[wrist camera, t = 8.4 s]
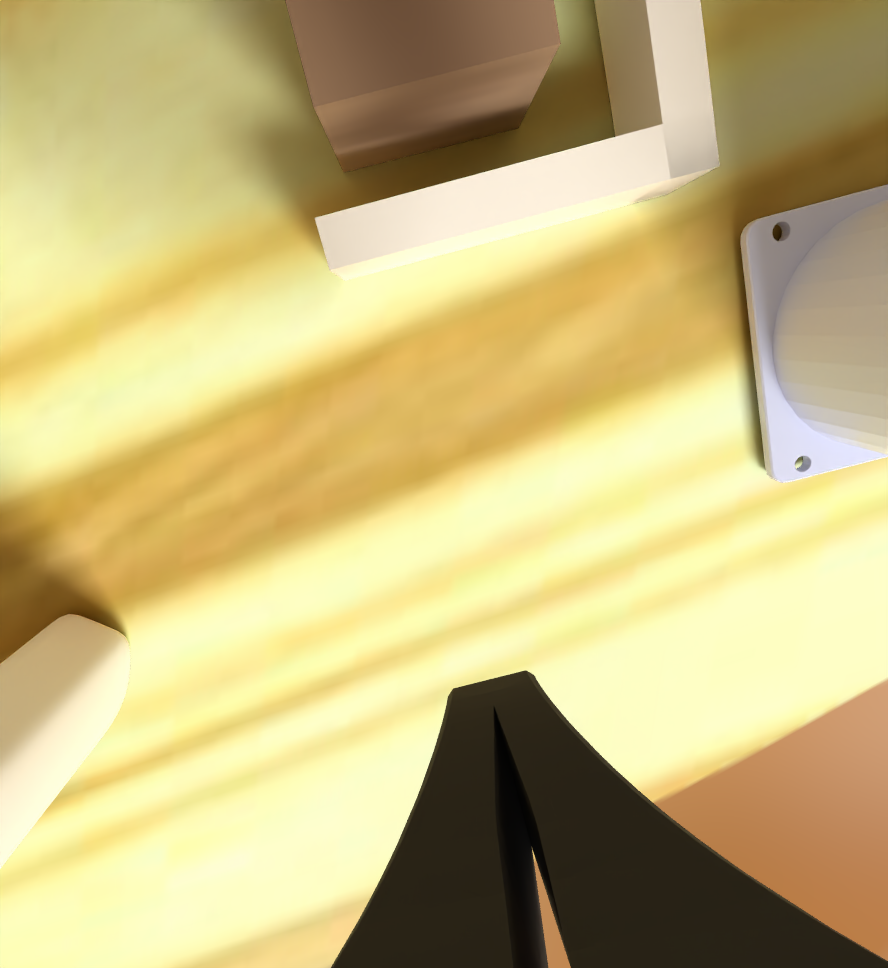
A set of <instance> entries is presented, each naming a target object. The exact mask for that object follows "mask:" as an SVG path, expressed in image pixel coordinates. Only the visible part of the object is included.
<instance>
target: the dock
mask: <svg viewBox="0 0 888 968" xmlns="http://www.w3.org/2000/svg"><path fill="white" fill-rule="evenodd" d="M594 2H595V9H596V15H597V22H598V28H599V34H600V41H601V47H602V53H603V60H604V66H605V73H606V79H607V85H608V92H609V98H610V104H611V111H612V117H613V123H614V130H615V136H616V137H613V138H609V139H605V140H601V141H598V142H594V143H590V144H587V145H583V146H579V147H575V148H572V149H568V150H564V151H561V152H557V153H553V154H549V155H546V156H542V157H538V158H535V159H531V160H527V161H524V162H520V163H516V164H512V165H509V166H505V167H501V168H498V169H494V170H490V171H486V172H483V173H479V174H475V175H472V176H468V177H464V178H460V179H457V180H453V181H449V182H446V183H442V184H438V185H434V186H431V187H427V188H423V189H420V190H416V191H412V192H409V193H405V194H401V195H397V196H394V197H390V198H386V199H383V200H379V201H375V202H371V203H368V204H364V205H360V206H357V207H353V208H349V209H345V210H342V211H338V212H334V213H331V214H327V215H323V216H320V217H316V218H315V221H316V225H317V228H318V232H319V235H320V238H321V242H322V245H323V249H324V252H325V256H326V259H327V263H328V266H329V270H330V271H331V272H333V273H334V274H336V275H337V276H339V277H340V278H342V279H343V280H344V281H345V280H349V279H353V278H357V277H360V276H364V275H368V274H372V273H375V272H379V271H383V270H387V269H390V268H394V267H398V266H402V265H405V264H409V263H413V262H417V261H420V260H424V259H428V258H432V257H435V256H439V255H443V254H447V253H450V252H454V251H458V250H462V249H465V248H469V247H473V246H477V245H480V244H484V243H488V242H492V241H495V240H499V239H503V238H507V237H510V236H514V235H518V234H522V233H525V232H529V231H533V230H537V229H540V228H544V227H548V226H552V225H555V224H559V223H563V222H566V221H570V220H574V219H578V218H581V217H585V216H589V215H593V214H596V213H600V212H604V211H608V210H611V209H615V208H619V207H623V206H626V205H630V204H634V203H638V202H641V201H645V200H649V199H653V198H656V197H660V196H664V195H667V194H669V193H671V192H673V191H675V190H677V189H678V188H680V187H682V186H684V185H686V184H688V183H689V182H691V181H693V180H695V179H697V178H699V177H700V176H702V175H704V174H706V173H708V172H710V171H711V170H713V169H715V168H717V167H719V166H720V164H719V156H718V147H717V138H716V130H715V121H714V112H713V104H712V95H711V87H710V78H709V69H708V61H707V52H706V43H705V35H704V26H703V18H702V9H701V0H594Z"/></svg>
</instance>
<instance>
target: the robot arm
mask: <svg viewBox="0 0 888 968" xmlns="http://www.w3.org/2000/svg"><path fill="white" fill-rule="evenodd" d="M776 224H777V225H779V226H780V227H781V229H782V236H781V238H780V239H779V241H777V240H775V239H774V238H773V235H772V231H773V228H774V226H775V225H776ZM740 244H741V253H742V262H743V271H744V280H745V289H746V298H747V307H748V316H749V325H750V334H751V343H752V352H753V361H754V370H755V379H756V388H757V397H758V406H759V415H760V424H761V433H762V442H763V451H764V460H765V469H766V472H767V475H768V476H769V477H770V478H771V479H774V480H776V481H779V482H782V483H783V482H791V481H795V480H799V479H803V478H806V477H810V476H814V475H818V474H822V473H826V472H830V471H834V470H838V469H842V468H846V467H850V466H853V465H857V464H861V463H865V462H869V461H873V460H877V459H881V458H885V457H888V184H887V185H883V186H880V187H876V188H872V189H868V190H865V191H861V192H857V193H853V194H849V195H846V196H842V197H838V198H834V199H831V200H827V201H823V202H819V203H816V204H812V205H808V206H804V207H800V208H797V209H793V210H789V211H785V212H782V213H778V214H774V215H770V216H766V217H763V218H759V219H756V220H754V221H752V222H750V223H748V225H747V226H746V227H745V228H744V229H743V232H742V234H741V241H740ZM801 456H802V457H803V463H802V465H801V466H800V467H799V468H797V469H796V468H795V461H796V460H797V459H798V458H799V457H801ZM532 849H533V852H534V855H535V858H536V861H537V864H538V867H539V870H540V873H541V877H542V879H543V883H544V886H545V889H546V892H547V895H548V898H549V901H550V904H551V907H552V911H553V914H554V917H555V920H556V923H557V926H558V929H559V932H560V935H561V938H562V941H563V944H564V948H565V951H566V954H567V956H568V960H569V963H570V966H571V968H888V961H886V960H885V959H883V958H881V957H880V956H878V955H876V954H874V953H873V952H871V951H869V950H867V949H866V948H864V947H862V946H861V945H859V944H857V943H856V942H854V941H852V940H850V939H849V938H847V937H845V936H844V935H842V934H840V933H838V932H837V931H835V930H833V929H832V928H830V927H828V926H827V925H825V924H824V923H822V922H821V921H819V920H818V919H816V918H814V917H813V916H811V915H810V914H808V913H806V912H805V911H804V910H802V909H801V908H799V907H797V906H796V905H794V904H793V903H791V902H790V901H788V900H786V899H785V898H783V897H782V896H780V895H779V894H777V893H776V892H774V891H773V890H771V889H770V888H768V887H766V886H765V885H763V884H762V883H760V882H759V881H757V880H755V879H754V878H753V877H751V876H749V875H748V874H746V873H745V872H743V871H742V870H740V869H739V868H738V867H736V866H735V865H733V864H732V863H730V862H729V861H728V860H726V859H725V858H723V857H722V856H721V855H719V854H718V853H717V852H715V851H714V850H712V849H711V848H710V847H708V846H707V845H706V844H704V843H703V842H701V841H700V840H699V839H698V838H696V837H695V836H694V835H692V834H691V833H690V832H689V831H687V830H686V829H685V828H683V827H682V826H681V825H680V824H678V823H677V822H676V821H674V820H673V819H672V818H670V817H669V816H668V815H667V814H666V813H664V812H663V811H662V810H661V809H660V808H658V807H657V806H656V805H655V804H654V803H652V802H651V801H650V800H649V799H648V798H647V797H645V796H644V795H643V794H642V793H641V792H640V791H638V790H637V789H636V788H635V787H634V786H633V785H632V784H631V783H630V782H629V781H627V780H626V779H625V778H624V777H623V776H622V775H621V774H620V773H619V772H618V771H616V770H615V769H614V768H613V767H612V766H611V765H610V764H609V763H608V762H607V761H606V760H605V759H604V758H603V757H602V756H601V755H600V754H599V753H598V752H597V751H596V750H595V749H594V748H593V747H592V746H591V745H590V744H589V743H588V742H587V741H586V740H585V739H584V738H583V736H582V735H581V734H580V733H579V732H578V731H577V730H576V729H575V728H574V727H573V726H572V725H571V724H570V723H569V721H568V720H567V719H566V718H565V717H564V716H563V714H562V713H561V712H560V711H559V710H558V708H557V707H556V706H555V705H554V704H553V702H552V701H551V700H550V698H549V697H548V696H547V695H546V693H545V692H544V690H543V689H542V688H541V686H540V684H539V683H538V681H537V680H536V678H535V676H534V675H533V674H531V673H530V672H528V671H522V672H518V673H514V674H510V675H506V676H502V677H498V678H494V679H490V680H486V681H482V682H478V683H474V684H470V685H466V686H462V687H458V688H454V689H453V690H452V691H451V693H450V694H449V696H448V700H447V705H446V710H445V714H444V718H443V722H442V726H441V729H440V733H439V736H438V739H437V742H436V746H435V749H434V752H433V755H432V758H431V761H430V763H429V766H428V769H427V772H426V775H425V778H424V780H423V783H422V786H421V789H420V791H419V794H418V797H417V799H416V801H415V804H414V806H413V809H412V811H411V813H410V816H409V818H408V820H407V823H406V825H405V827H404V830H403V832H402V834H401V837H400V839H399V842H398V844H397V846H396V848H395V850H394V852H393V854H392V857H391V859H390V861H389V863H388V865H387V867H386V869H385V871H384V873H383V875H382V877H381V879H380V881H379V883H378V885H377V887H376V889H375V891H374V893H373V895H372V896H371V898H370V900H369V902H368V904H367V906H366V908H365V910H364V912H363V913H362V915H361V917H360V919H359V921H358V922H357V924H356V926H355V928H354V929H353V931H352V933H351V934H350V936H349V938H348V939H347V941H346V943H345V945H344V946H343V948H342V950H341V951H340V953H339V955H338V957H337V958H336V960H335V962H334V963H333V965H332V967H331V968H548V962H547V955H546V948H545V940H544V933H543V927H542V926H543V925H542V918H541V911H540V903H539V896H538V889H537V881H536V874H535V867H534V860H533V853H532Z"/></svg>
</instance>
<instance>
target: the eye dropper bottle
mask: <svg viewBox="0 0 888 968" xmlns="http://www.w3.org/2000/svg"><path fill="white" fill-rule="evenodd" d="M130 661H131V660H130V647H129V643H128V641H127V639H126V637H125V636H124V635H123V634H121V633H120V632H119V631H117V630H114V629H112V628H110V627H107V626H105V625H103V624H100V623H98V622H95V621H93V620H90V619H88V618H85V617H82V616H80V615H74V614H68V615H65V616H62V617H59V618H58V619H56V620H55V621H54V622H52V623H51V624H50V625H48V626H47V627H46V628H45V629H43V630H42V631H41V632H40V633H38V634H37V635H36V636H34V637H33V638H32V639H31V640H29V641H28V642H27V643H26V644H24V645H23V646H22V647H21V648H19V649H18V650H17V651H16V652H14V653H13V654H12V655H11V656H9V657H8V658H7V659H6V660H4V661H3V662H2V663H1V664H0V868H1V867H2V866H3V864H4V863H5V862H6V861H7V859H8V858H9V857H10V855H11V854H12V853H13V852H14V850H15V849H16V848H17V846H18V845H19V844H20V843H21V841H22V840H23V839H24V837H25V836H26V835H27V834H28V832H29V831H30V830H31V828H32V827H33V826H34V824H35V823H36V822H37V821H38V819H39V818H40V817H41V815H42V814H43V813H44V812H45V810H46V809H47V808H48V806H49V805H50V804H51V803H52V801H53V800H54V799H55V797H56V796H57V795H58V794H59V792H60V791H61V790H62V788H63V787H64V786H65V785H66V783H67V782H68V781H69V779H70V778H71V777H72V775H73V774H74V773H75V772H76V770H77V769H78V768H79V766H80V765H81V764H82V763H83V761H84V760H85V759H86V757H87V756H88V755H89V754H90V752H91V751H92V750H93V748H94V747H95V746H96V744H97V743H98V742H99V741H100V739H101V738H102V737H103V735H104V734H105V733H106V731H107V730H108V728H109V727H110V725H111V724H112V722H113V721H114V719H115V717H116V716H117V714H118V712H119V710H120V708H121V705H122V703H123V700H124V698H125V694H126V691H127V687H128V682H129V676H130Z"/></svg>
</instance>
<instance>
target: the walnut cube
mask: <svg viewBox="0 0 888 968" xmlns="http://www.w3.org/2000/svg"><path fill="white" fill-rule="evenodd" d="M285 1H286V5H287V9H288V13H289V16H290V20H291V24H292V28H293V32H294V35H295V39H296V43H297V47H298V50H299V54H300V58H301V62H302V66H303V69H304V73H305V77H306V81H307V85H308V88H309V92H310V96H311V100H312V103H313V107H314V109H315V112H316V114H317V116H318V118H319V120H320V122H321V124H322V127H323V129H324V131H325V133H326V135H327V137H328V140H329V142H330V144H331V146H332V148H333V150H334V153H335V155H336V157H337V159H338V161H339V163H340V166H341V168H342V170H343V172H348V171H352V170H356V169H360V168H364V167H368V166H372V165H376V164H380V163H384V162H388V161H391V160H395V159H399V158H403V157H407V156H411V155H415V154H419V153H423V152H427V151H431V150H435V149H438V148H442V147H446V146H450V145H454V144H458V143H462V142H466V141H470V140H474V139H478V138H482V137H486V136H489V135H493V134H497V133H501V132H505V131H509V130H513V129H517V128H519V126H520V124H521V122H522V120H523V118H524V116H525V114H526V112H527V110H528V108H529V106H530V104H531V102H532V100H533V98H534V96H535V94H536V92H537V90H538V88H539V86H540V84H541V82H542V80H543V78H544V76H545V74H546V72H547V70H548V68H549V66H550V64H551V62H552V60H553V58H554V56H555V54H556V52H557V50H558V48H559V46H560V44H561V43H560V37H559V30H558V24H557V18H556V12H555V6H554V0H285Z"/></svg>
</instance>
